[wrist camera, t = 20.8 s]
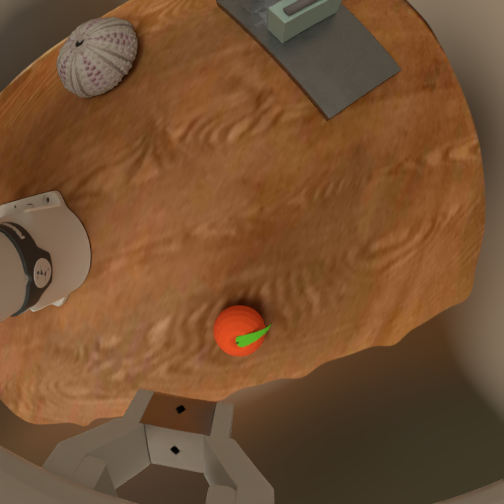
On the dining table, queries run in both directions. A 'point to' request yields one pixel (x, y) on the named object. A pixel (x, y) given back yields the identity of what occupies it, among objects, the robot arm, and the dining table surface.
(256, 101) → the dining table surface
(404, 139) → the dining table surface
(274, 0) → the block
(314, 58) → the vise
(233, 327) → the clementine
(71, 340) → the dining table surface
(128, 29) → the sea urchin shell
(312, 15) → the sliding jaw
